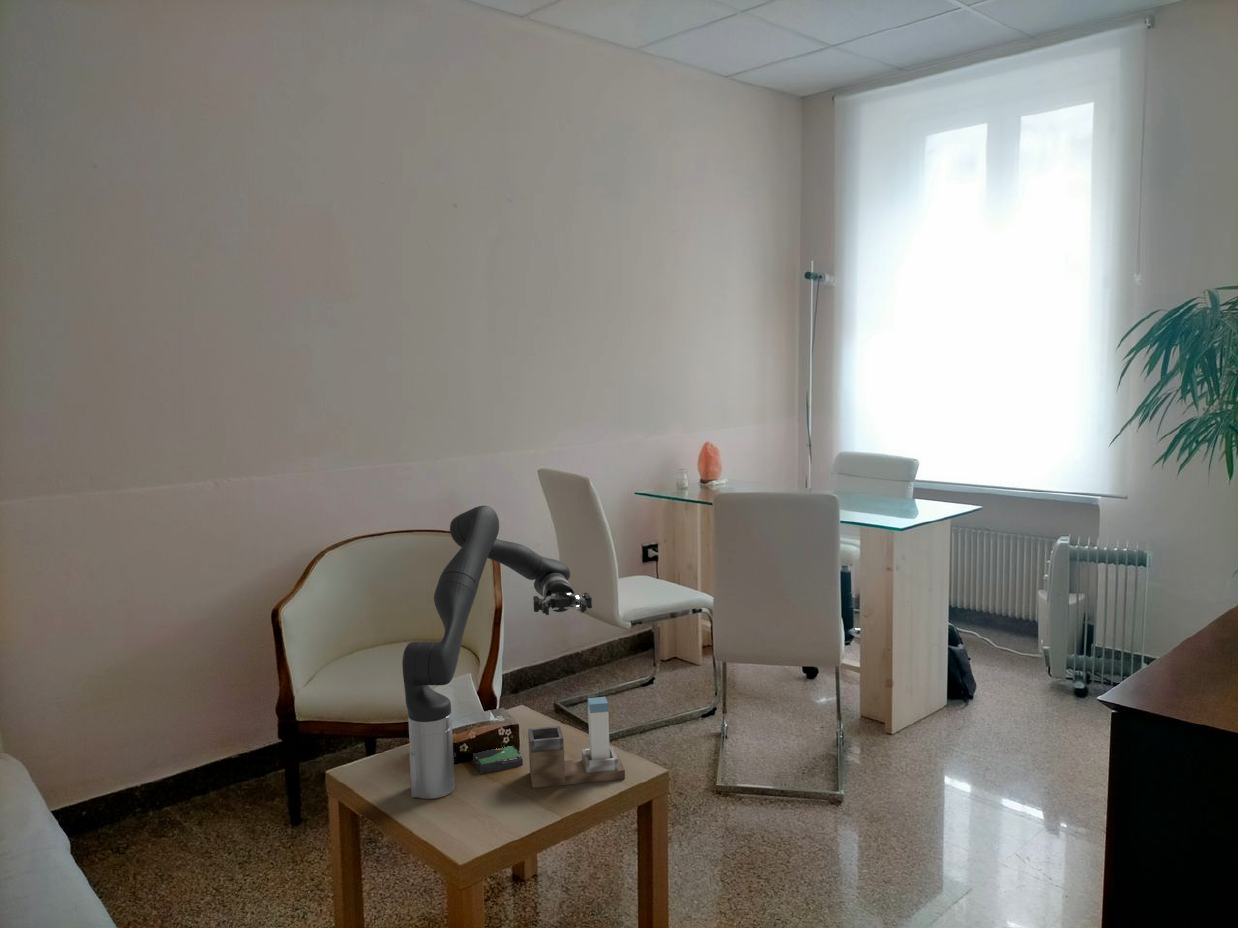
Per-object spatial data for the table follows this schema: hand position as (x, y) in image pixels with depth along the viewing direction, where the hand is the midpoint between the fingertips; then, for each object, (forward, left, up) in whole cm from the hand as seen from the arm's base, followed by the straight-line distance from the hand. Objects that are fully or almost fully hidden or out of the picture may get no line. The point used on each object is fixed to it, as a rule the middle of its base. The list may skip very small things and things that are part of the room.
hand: (565, 609), depth 223 cm
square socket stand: (-1, -16, -34) cm, 38 cm away
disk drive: (-19, -2, -35) cm, 39 cm away
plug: (+5, -16, -32) cm, 36 cm away
